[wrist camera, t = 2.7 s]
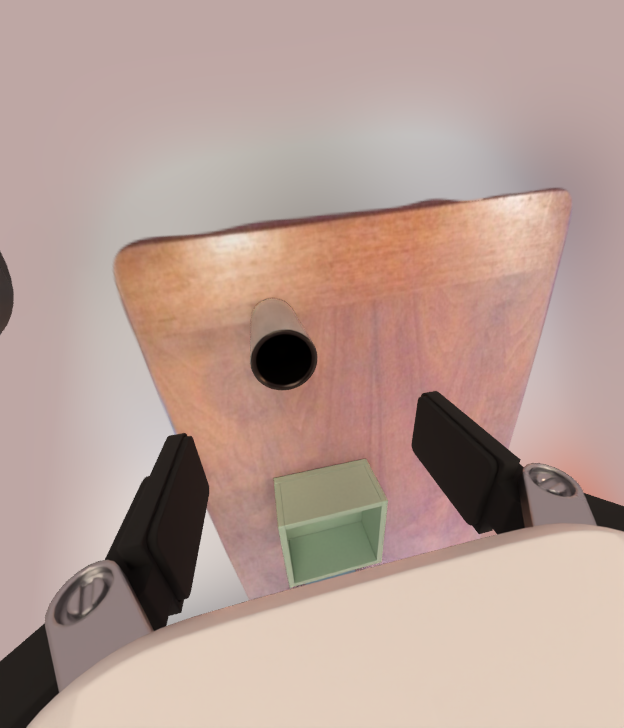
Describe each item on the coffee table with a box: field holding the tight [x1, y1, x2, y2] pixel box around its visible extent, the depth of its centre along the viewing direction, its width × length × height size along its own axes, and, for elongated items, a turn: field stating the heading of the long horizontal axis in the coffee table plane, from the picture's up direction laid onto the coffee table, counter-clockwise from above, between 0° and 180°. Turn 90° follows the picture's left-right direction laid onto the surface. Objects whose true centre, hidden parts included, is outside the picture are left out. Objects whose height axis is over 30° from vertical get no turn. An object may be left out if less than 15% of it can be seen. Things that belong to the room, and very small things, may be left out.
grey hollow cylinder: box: [250, 298, 317, 390], centre depth 22 cm, size 4×4×10 cm
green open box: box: [274, 459, 388, 588], centre depth 37 cm, size 14×14×7 cm
